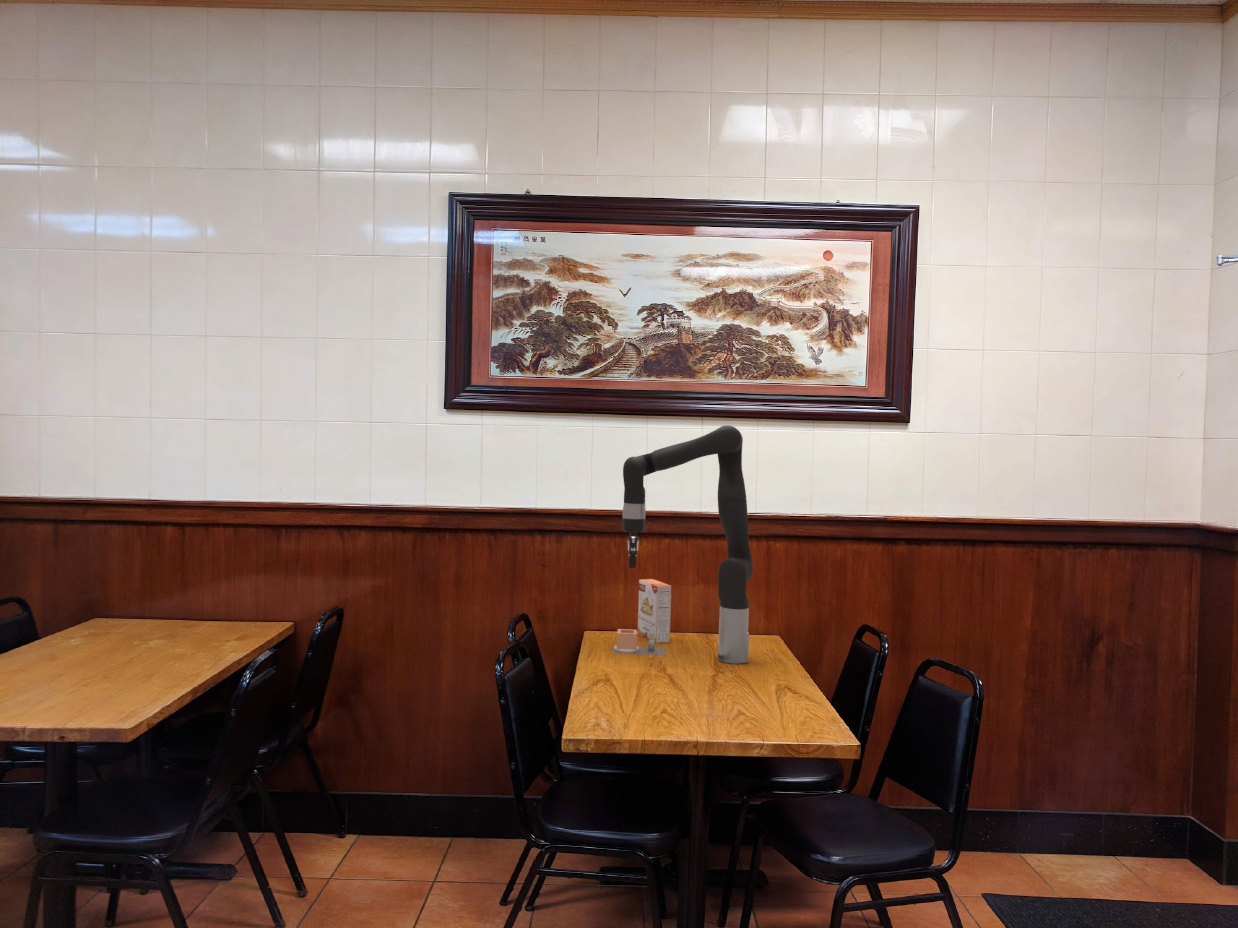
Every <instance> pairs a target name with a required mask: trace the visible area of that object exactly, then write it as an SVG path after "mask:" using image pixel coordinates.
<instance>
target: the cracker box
mask: <svg viewBox="0 0 1238 928" xmlns="http://www.w3.org/2000/svg"><path fill="white" fill-rule="evenodd" d="M671 608H672V585H670V584H667V583H665V582H663V581H660V580H657V579H654V578H647V579H646V578H642V579H639V580H638V608H637V610H638V612H637V637H639V638H640V637H642V638H645V639H647V640H648V641H649V640H650V639H653V640H655V644H656V643H658V644H659V643H669V642H671V613H672V612H671V611H672V609H671Z"/></svg>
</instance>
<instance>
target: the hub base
mask: <svg viewBox="0 0 1238 928" xmlns="http://www.w3.org/2000/svg"><path fill="white" fill-rule="evenodd" d="M655 644H656V643H655V640H653V639H650V640H649V639H648V644H647V645H648V646H647V647H646V646H645V647H644V646H639V645H637V650H632V649H617V644H615V645H613V646H612V654H626V655H627V654H629V655H651V656H652V655H655V656H666V655H667V654H666V647H655Z"/></svg>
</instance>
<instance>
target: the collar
mask: <svg viewBox="0 0 1238 928" xmlns="http://www.w3.org/2000/svg"><path fill="white" fill-rule="evenodd" d="M616 645H617V649H632V650H637V646H638V629H630V628H629V629H628V628H626V629H625V628H617V632H616Z"/></svg>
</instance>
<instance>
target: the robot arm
mask: <svg viewBox="0 0 1238 928" xmlns="http://www.w3.org/2000/svg"><path fill="white" fill-rule="evenodd" d="M743 442H744V441H743V435H742V433H741V432H740V430H739V429H738V428H736V427H735V426H734V425H733V426H732V425H730V424H729V425H728V424H727V425H722V426H719V427H718V428H716V429H715V430H713V431H710V432H709V433H707V434H705V435H702V436H700V437H697V438H694V439H690V440H688V441H683V442H680V443H676V444H673V445H669V446H668V445H667V446H665V447H662V448H658V449H655V450H653V451H652V452H649V453H645V454H641V455H637V456H631V457H628V458H627V459H626V460H625V461H624V463H623V467H622V468H623V469H622V477H623V487H624V492H623V507H622V520H621V522H622V523H621V524H622V525H621V530H622V531H623V532H625V533H629V534H628V535H629V536H627V539H626V540H627V541H626V542H627V551H628V567H629V569H635V568H636V566H637V556H638V552H637V551H639V543H640V536H638V533H644V532H645V531H646V488H645V487H644V481H645V480H644V479H645V478H644V477H645V476H648V475H651V474H653V473H656V472H660V471H666V470H669V469H671V468H675V467H678V466H682V465H684V464H688V463H689V462H691V461H694V460H697V459H700V458H703V457H708V456H712V455H717V459H718V461H717V462H718V466H719V474H718V475H719V477H718V483H717V484H718V486H717V507H718V510H717V511H718V512H717V513H718V518H719V522H720V524H721V527H722V530H723V532H724V535H725V538H726V542H727V544H726V545H727V558H726V559H724V560H722V562H721V563H720V565H719V568H718V574H717V589H718V590H717V595H718V598H719V621H718V622H719V623H718V645H717V647H718V649H717V660H718V661H719V662H723V663H726V664H727V663H728V664H744V663H745V664H747V663H749V649H750V648H749V647H750V646H749V645H750V644H749V642H750V640H749V639H750V632H749V619H750V618H749V617H750V616H749V612H750V610H749V609H750V600H749V599H750V598H749V597H747V593H746V592H747V583H748V582H749V581H750V580H751V578H752V577H753V574H754V565H753V560H752V553H751V548H750V540H749V523H748V520H749V519H748V501H747V494H746V492H747V491H746V486H745V485H746V484H745V479H744V474H743V458H742V457H743V454H742V453H743Z"/></svg>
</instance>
